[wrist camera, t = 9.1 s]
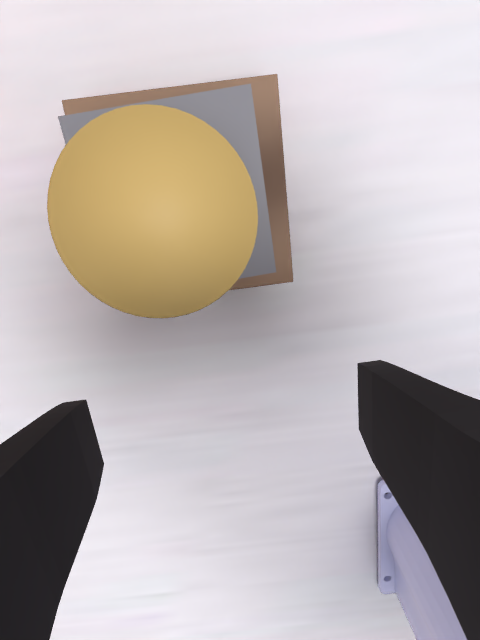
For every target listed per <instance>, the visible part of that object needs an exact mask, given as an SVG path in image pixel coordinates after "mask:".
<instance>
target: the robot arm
mask: <svg viewBox="0 0 480 640" xmlns="http://www.w3.org/2000/svg"><path fill="white" fill-rule="evenodd" d="M358 409H359V430H360V433H361V435H362V438H363V440H364V442H365V445H366V447H367V450H368V452H369V454H370V456H371V459H372V461H373V463H374V464H375V466H376V468H377V470H378V471H379V473H380V475H381V476H382V478H383V480H381V481H380V482H379V483H378V587H379V589H380V592H381V593H383V594H391V593H396V594H397V597H398V599H399V601H400V603H401V606H402V608H403V610H404V612H405V615H406V617H407V619H408V621H409V624H410V626H411V628H412V630H413V633H414V635H415V637H416V639H417V640H480V400H478V399H475V398H472V397H470V396H467V395H464V394H462V393H459V392H457V391H454V390H452V389H449V388H447V387H444V386H442V385H440V384H437V383H435V382H432V381H430V380H428V379H426V378H423V377H421V376H419V375H416V374H414V373H412V372H410V371H407V370H405V369H403V368H400V367H398V366H395V365H393V364H390V363H388V362H385V361H381V360H378V361H371V362H363V363H358ZM103 466H104V462H103V458H102V455H101V451H100V448H99V444H98V441H97V437H96V433H95V430H94V426H93V423H92V419H91V415H90V412H89V408H88V405H87V401H86V400H80V401H72V402H65V403H61V404H60V405H58V406H56V407H54V408H53V409H51V410H49V411H48V412H46V413H45V414H43V415H42V416H40V417H39V418H37V419H36V420H35V421H33V422H32V423H30V424H29V425H27V426H26V427H25V428H23V429H22V430H20V431H19V432H17V433H16V434H15V435H13V436H12V437H10V438H9V439H7V440H6V441H5V442H3V443H2V444H0V640H49V639H50V635H51V631H52V627H53V624H54V620H55V616H56V612H57V609H58V605H59V602H60V599H61V596H62V593H63V590H64V587H65V584H66V581H67V579H68V576H69V573H70V571H71V568H72V565H73V563H74V560H75V557H76V554H77V552H78V549H79V546H80V544H81V541H82V538H83V536H84V533H85V530H86V527H87V525H88V522H89V519H90V516H91V514H92V511H93V508H94V505H95V502H96V499H97V495H98V490H99V486H100V482H101V477H102V472H103ZM388 492H389V493H388ZM385 493H388V494H385Z"/></svg>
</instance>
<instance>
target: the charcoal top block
mask: <svg viewBox="0 0 480 640" xmlns="http://www.w3.org/2000/svg"><path fill="white" fill-rule="evenodd" d="M143 104H150V105H162V106H166V107H171V108H176V109H178V110H181V111H184V112H187V113H189V114H191V115H193V116H195V117H197V118H199V119H201V120H203V121H204V122H206V123H207V124H208V125H210V126H211V127H213V128H214V129H215V130H217V131H218V132H219V133H220V134H221V135H222V136H223V137H224V138H225V139H226V140H227V141H228V142H229V143H230V145H231V146H232V147H233V148H234V149H235V151H236V152H237V154H238V155H239V157H240V158H241V160H242V161H243V163H244V165H245V167H246V169H247V171H248V173H249V176H250V178H251V181H252V184H253V187H254V190H255V195H256V201H257V209H258V226H257V235H256V240H255V245H254V248H253V251H252V254H251V257H250V259H249V261H248V263H247V265H246V267H245V269H244V271H243V272H242V274H241V275H240V277H239V278H238V279H241V278H246V277H252V276H258V275H263V274H269V273H275V272H276V266H275V258H274V251H273V243H272V236H271V229H270V221H269V214H268V206H267V199H266V192H265V184H264V177H263V169H262V162H261V155H260V147H259V140H258V133H257V125H256V118H255V110H254V103H253V96H252V88H251V84H245V85H239V86H233V87H228V88H222V89H216V90H210V91H204V92H198V93H193V94H187V95H181V96H175V97H169V98H163V99H158V100H152V101H146V102H140V103H134V104H129V105H123V106H117V107H111V108H105V109H99V110H94V111H88V112H82V113H76V114H70V115H64V116H59V117H58V118H59V122H60V125H61V129H62V132H63V136H64V139H65V143H66V145H67V143H68V142H69V140H70V139H71V138H72V137H73V136H74V135H75V134H76V133H77V132H78V131H79V130H80V129H81V128H82V127H84V126H85V125H86V124H87V123H89V122H90V121H91V120H93V119H95V118H97V117H98V116H100V115H102V114H104V113H107V112H109V111H112V110H114V109H117V108H121V107H126V106H130V105H143Z"/></svg>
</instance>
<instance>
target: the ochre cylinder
mask: <svg viewBox="0 0 480 640" xmlns="http://www.w3.org/2000/svg"><path fill="white" fill-rule="evenodd" d="M47 210H48V221H49V226H50V230H51V235H52V238H53V241H54V243H55V246H56V249H57V251H58V253H59V255H60V257H61V259H62V261H63V262H64V264H65V265H66V267H67V268H68V270H69V271H70V273H71V274H72V275H73V276H74V278H75V279H76V280H77V281H78V282H79V283H80V284H81V285H82V286H83V287H84V288H85V289H86V290H87V291H88V292H89V293H91V294H92V295H93V296H95V297H96V298H97V299H99V300H100V301H102V302H104V303H105V304H107V305H109V306H111V307H113V308H115V309H118V310H120V311H122V312H125V313H129V314H132V315H136V316H141V317H148V318H170V317H177V316H182V315H187V314H190V313H192V312H195V311H198V310H200V309H202V308H204V307H206V306H208V305H210V304H211V303H213V302H214V301H216V300H217V299H219V298H220V297H221V296H222V295H224V294H225V293H226V292H227V291H228V290H229V289H230V288H231V287H232V286H233V285H234V283H235V282H236V281H237V280H238V278H239V277H240V275H241V274H242V272H243V271H244V269H245V267H246V265H247V263H248V261H249V259H250V257H251V254H252V251H253V248H254V245H255V240H256V235H257V226H258V209H257V201H256V195H255V190H254V187H253V184H252V181H251V178H250V176H249V173H248V171H247V169H246V167H245V165H244V163H243V161H242V160H241V158H240V157H239V155H238V154H237V152H236V151H235V149H234V148H233V147H232V146H231V145H230V143H229V142H228V141H227V140H226V139H225V138H224V137H223V136H222V135H221V134H220V133H219V132H218V131H217V130H215V129H214V128H213V127H211V126H210V125H208V124H207V123H206V122H204V121H203V120H201V119H199V118H197V117H195V116H193V115H191V114H189V113H187V112H184V111H181V110H178V109H176V108H171V107H166V106H162V105H150V104H143V105H130V106H126V107H121V108H117V109H114V110H112V111H109V112H107V113H104V114H102V115H100V116H98V117H97V118H95V119H93V120H91V121H90V122H89V123H87V124H86V125H85V126H84V127H82V128H81V129H80V130H79V131H78V132H77V133H76V134H75V135H74V136H73V137H72V138H71V139H70V140H69V142H68V143H67V145H66V146H65V148H64V149H63V150H62V152H61V154H60V156H59V158H58V160H57V162H56V164H55V166H54V169H53V172H52V175H51V178H50V184H49V189H48V202H47Z"/></svg>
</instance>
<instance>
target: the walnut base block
mask: <svg viewBox="0 0 480 640" xmlns="http://www.w3.org/2000/svg"><path fill="white" fill-rule="evenodd" d="M245 84H251V88H252V96H253V103H254V110H255V118H256V125H257V133H258V140H259V147H260V155H261V162H262V169H263V177H264V184H265V192H266V199H267V206H268V214H269V221H270V229H271V236H272V243H273V251H274V258H275V266H276V272H275V273H269V274H263V275H258V276H252V277H246V278H241V279H238V280H237V281H236V282H235V283H234V285H233V286H232V287H231V288H230V289H229V290H235V289H242V288H249V287H257V286H264V285H272V284H279V283H286V282H293V272H292V259H291V246H290V233H289V220H288V207H287V194H286V181H285V168H284V155H283V143H282V130H281V117H280V104H279V91H278V78H277V74H273V75H265V76H257V77H249V78H241V79H232V80H224V81H216V82H208V83H200V84H192V85H183V86H175V87H167V88H159V89H151V90H143V91H135V92H126V93H118V94H110V95H102V96H94V97H86V98H78V99H69V100H62V104H63V108H64V112H65V115H70V114H76V113H82V112H88V111H94V110H99V109H105V108H111V107H117V106H123V105H129V104H134V103H140V102H146V101H152V100H158V99H163V98H169V97H175V96H181V95H187V94H193V93H198V92H204V91H210V90H216V89H222V88H228V87H233V86H239V85H245Z"/></svg>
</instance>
